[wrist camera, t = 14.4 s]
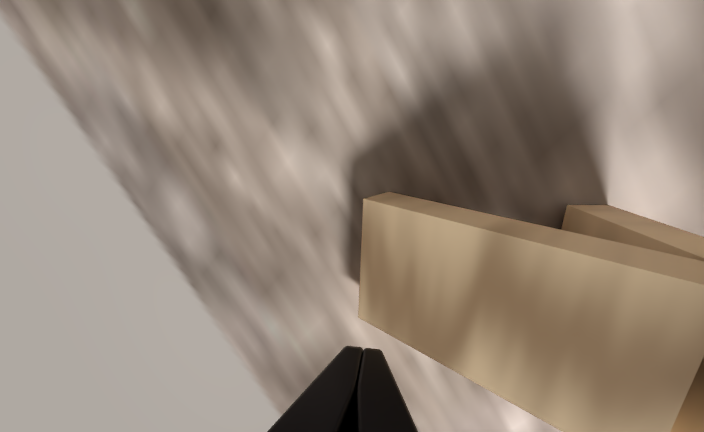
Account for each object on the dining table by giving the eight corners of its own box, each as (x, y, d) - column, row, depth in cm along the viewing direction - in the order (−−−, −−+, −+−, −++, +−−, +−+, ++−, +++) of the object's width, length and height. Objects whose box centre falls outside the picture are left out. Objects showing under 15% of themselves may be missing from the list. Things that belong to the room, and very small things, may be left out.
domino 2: (575, 321, 13) (1010, 685, 5) (538, 322, 13) (924, 701, 5) (608, 205, 12) (1324, 445, 3) (567, 204, 12) (1210, 455, 3)
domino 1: (381, 301, 14) (650, 433, 9) (358, 317, 13) (648, 479, 8) (389, 191, 13) (719, 264, 7) (363, 198, 12) (732, 292, 6)
